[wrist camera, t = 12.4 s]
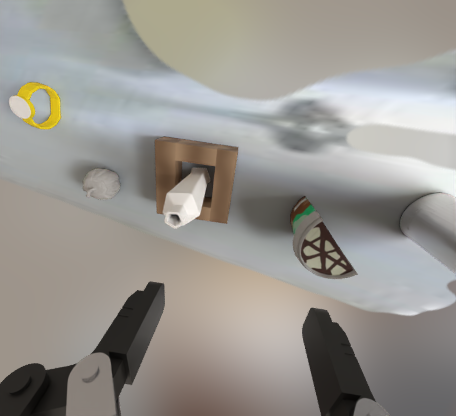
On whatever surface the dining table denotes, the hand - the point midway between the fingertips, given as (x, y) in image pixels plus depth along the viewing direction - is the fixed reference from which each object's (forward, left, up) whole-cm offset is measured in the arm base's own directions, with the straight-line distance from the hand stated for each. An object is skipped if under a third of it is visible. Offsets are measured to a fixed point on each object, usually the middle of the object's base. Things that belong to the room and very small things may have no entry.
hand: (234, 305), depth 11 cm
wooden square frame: (+7, +2, -26) cm, 27 cm away
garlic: (+23, +5, -26) cm, 35 cm away
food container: (-13, +8, -26) cm, 31 cm away
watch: (+30, -6, -26) cm, 40 cm away
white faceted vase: (+7, +2, -26) cm, 27 cm away
